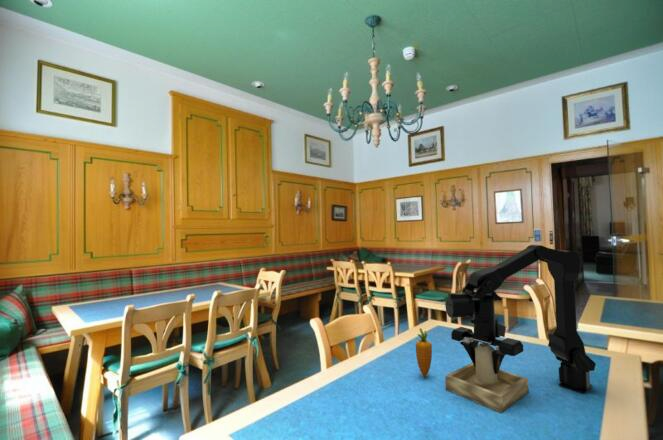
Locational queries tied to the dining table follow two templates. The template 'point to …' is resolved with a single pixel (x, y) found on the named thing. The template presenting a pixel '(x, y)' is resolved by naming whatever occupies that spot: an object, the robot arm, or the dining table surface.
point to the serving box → (487, 388)
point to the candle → (485, 364)
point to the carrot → (423, 353)
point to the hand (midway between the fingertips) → (486, 370)
